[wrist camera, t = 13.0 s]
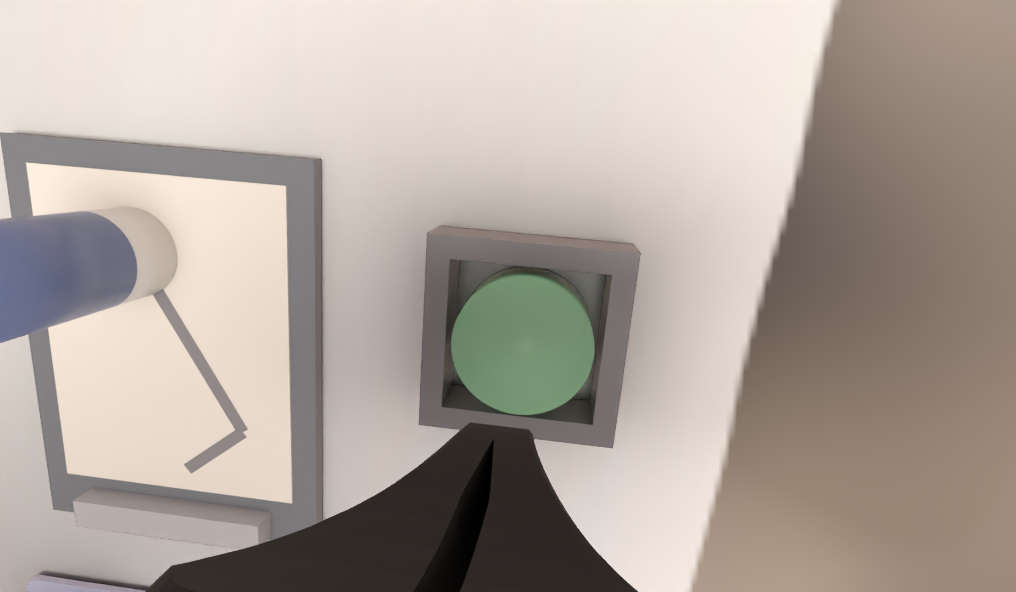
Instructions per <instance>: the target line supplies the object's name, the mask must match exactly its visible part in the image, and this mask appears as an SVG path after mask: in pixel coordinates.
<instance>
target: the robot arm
mask: <svg viewBox="0 0 1016 592" xmlns="http://www.w3.org/2000/svg"><path fill="white" fill-rule="evenodd" d="M26 589H27V592H638V591H637V590H635V589H634V588H633V587H632V586H631V585H630V584H629V583H627V582H626V581H625V580H624V579H623V578H622V577H621V576H620V575H619V574H618V573H617V572H616V571H615V570H614V569H613V568H612V567H611V566H610V565H609V564H608V563H607V562H606V561H605V560H604V559H603V558H602V557H601V556H600V555H599V554H598V553H597V552H596V550H595V549H594V548H593V547H592V546H591V545H590V543H589V542H588V541H587V540H586V538H585V537H584V536H583V534H582V533H581V532H580V530H579V529H578V528H577V526H576V525H575V523H574V522H573V521H572V519H571V518H570V516H569V514H568V513H567V511H566V510H565V508H564V506H563V505H562V503H561V501H560V500H559V498H558V496H557V495H556V493H555V491H554V489H553V487H552V485H551V483H550V481H549V479H548V477H547V475H546V473H545V471H544V469H543V466H542V464H541V461H540V459H539V456H538V453H537V450H536V447H535V444H534V438H533V434H532V433H531V432H530V430H529V429H522V428H513V427H505V426H497V425H488V424H480V423H472V422H470V423H469V424H467V425H466V426H465V427H463V428H462V429H461V430H460V431H459V432H458V433H457V434H456V435H455V436H453V437H452V438H451V439H450V440H449V441H448V442H447V443H446V444H445V445H443V446H442V447H441V448H440V449H439V450H438V451H436V452H435V453H434V454H433V455H432V456H430V457H429V458H428V459H427V460H425V461H424V462H423V463H422V464H421V465H419V466H418V467H417V468H415V469H414V470H413V471H411V472H410V473H408V474H407V475H406V476H404V477H403V478H401V479H400V480H399V481H397V482H396V483H394V484H393V485H391V486H390V487H388V488H386V489H385V490H383V491H381V492H380V493H378V494H376V495H375V496H373V497H371V498H369V499H367V500H365V501H364V502H362V503H360V504H358V505H356V506H354V507H352V508H350V509H348V510H346V511H344V512H341V513H339V514H337V515H335V516H332V517H330V518H328V519H326V520H323V521H321V522H319V523H317V524H314V525H312V526H310V527H307V528H305V529H302V530H299V531H297V532H294V533H291V534H288V535H285V536H283V537H280V538H277V539H274V540H270V541H267V542H264V543H261V544H258V545H255V546H251V547H248V548H244V549H241V550H237V551H233V552H229V553H225V554H221V555H217V556H213V557H208V558H204V559H200V560H196V561H192V562H188V563H183V564H178V565H173V566H171V567H170V568H169V569H168V570H167V571H166V572H165V573H164V574H163V575H162V576H161V577H159V578H158V579H157V580H156V581H155V582H154V583H153V584H152V585H151V586H150V587H149V588H148V589H147V590H146V591H144V590H137V589H131V588H124V587H117V586H111V585H104V584H97V583H91V582H84V581H77V580H71V579H64V578H57V577H51V576H44V575H37V576H35V577H33V578H32V579H31V580H30V581H28V583H27V587H26Z"/></svg>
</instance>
